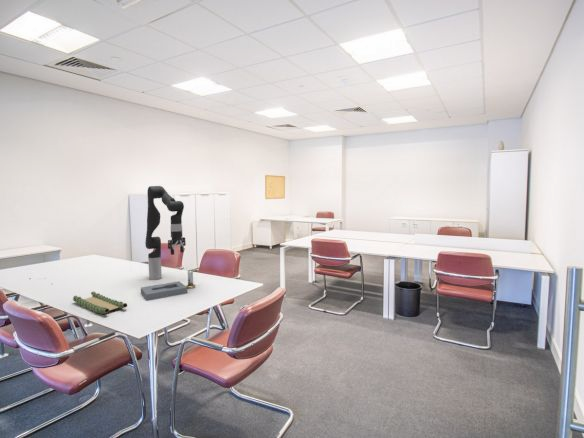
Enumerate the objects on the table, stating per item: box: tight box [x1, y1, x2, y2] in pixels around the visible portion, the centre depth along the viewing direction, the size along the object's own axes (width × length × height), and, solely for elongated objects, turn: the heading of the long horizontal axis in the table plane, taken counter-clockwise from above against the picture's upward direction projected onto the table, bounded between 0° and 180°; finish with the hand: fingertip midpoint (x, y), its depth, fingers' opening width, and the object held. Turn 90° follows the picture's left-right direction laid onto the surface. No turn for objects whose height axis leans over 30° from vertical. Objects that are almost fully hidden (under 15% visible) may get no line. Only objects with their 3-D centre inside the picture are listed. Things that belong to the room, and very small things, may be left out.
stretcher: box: [72, 290, 128, 315], centre depth 198 cm, size 41×14×5 cm, turn 55°
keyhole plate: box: [140, 280, 188, 301], centre depth 223 cm, size 18×26×4 cm
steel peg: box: [185, 270, 196, 290], centre depth 235 cm, size 6×6×12 cm
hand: (177, 253), depth 225 cm, fingers open, 8 cm apart
